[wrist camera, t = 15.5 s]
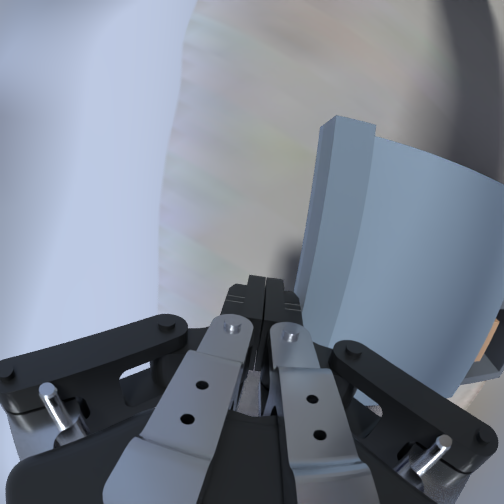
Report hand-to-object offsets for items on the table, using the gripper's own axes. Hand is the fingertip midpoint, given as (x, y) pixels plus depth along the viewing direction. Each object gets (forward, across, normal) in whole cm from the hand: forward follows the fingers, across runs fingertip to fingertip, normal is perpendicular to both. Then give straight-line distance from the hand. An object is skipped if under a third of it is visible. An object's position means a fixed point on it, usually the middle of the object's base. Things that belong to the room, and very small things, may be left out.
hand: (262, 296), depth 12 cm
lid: (+2, -9, 0) cm, 9 cm away
